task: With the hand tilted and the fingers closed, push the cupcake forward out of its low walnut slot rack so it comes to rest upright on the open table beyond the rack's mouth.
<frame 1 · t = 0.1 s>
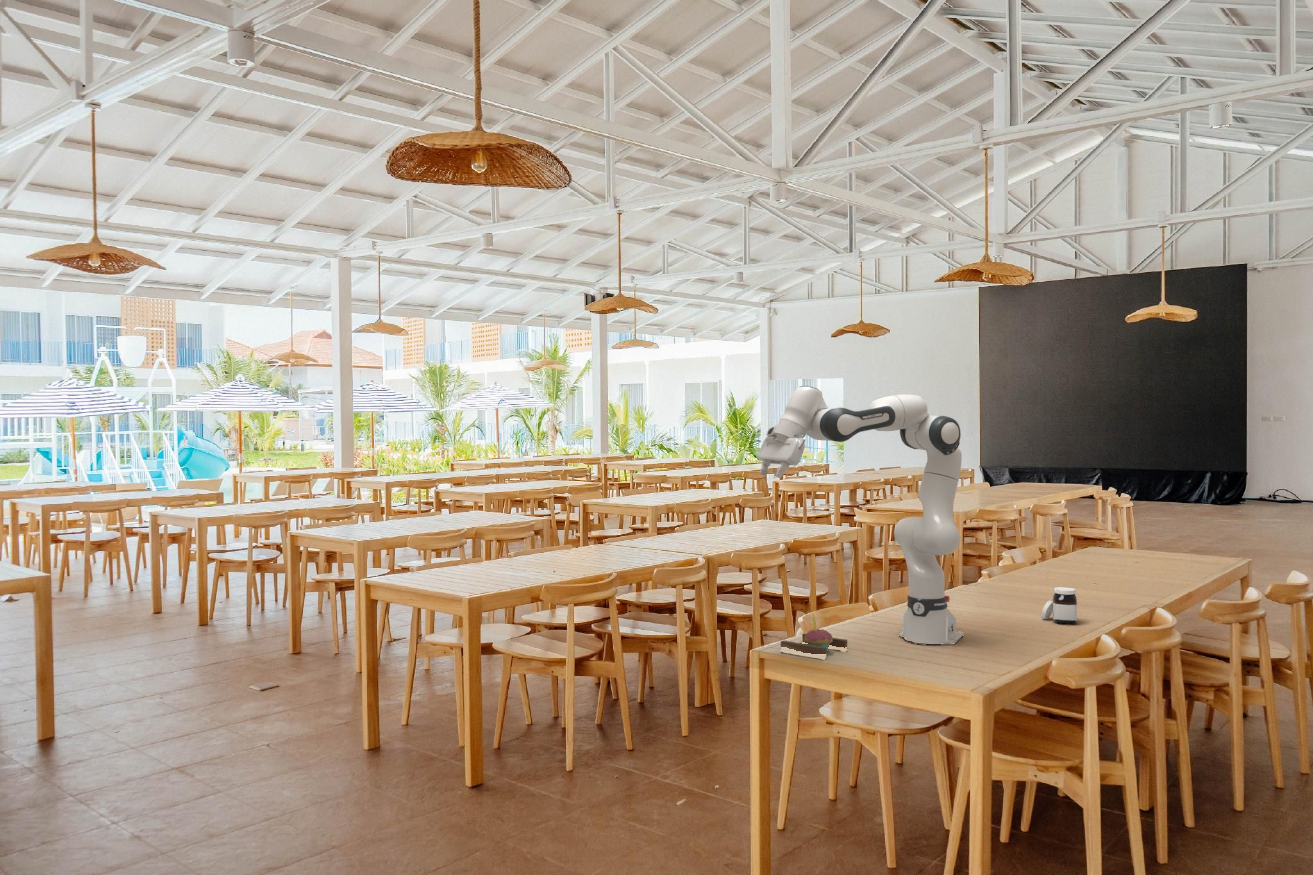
hand: (769, 476, 288), 54 cm above the table, tool tilted 30°, fingers open, 8 cm apart
cupcake: (818, 653, 295), on the table
rack: (814, 651, 296), on the table
spread jar: (1058, 622, 335), on the table
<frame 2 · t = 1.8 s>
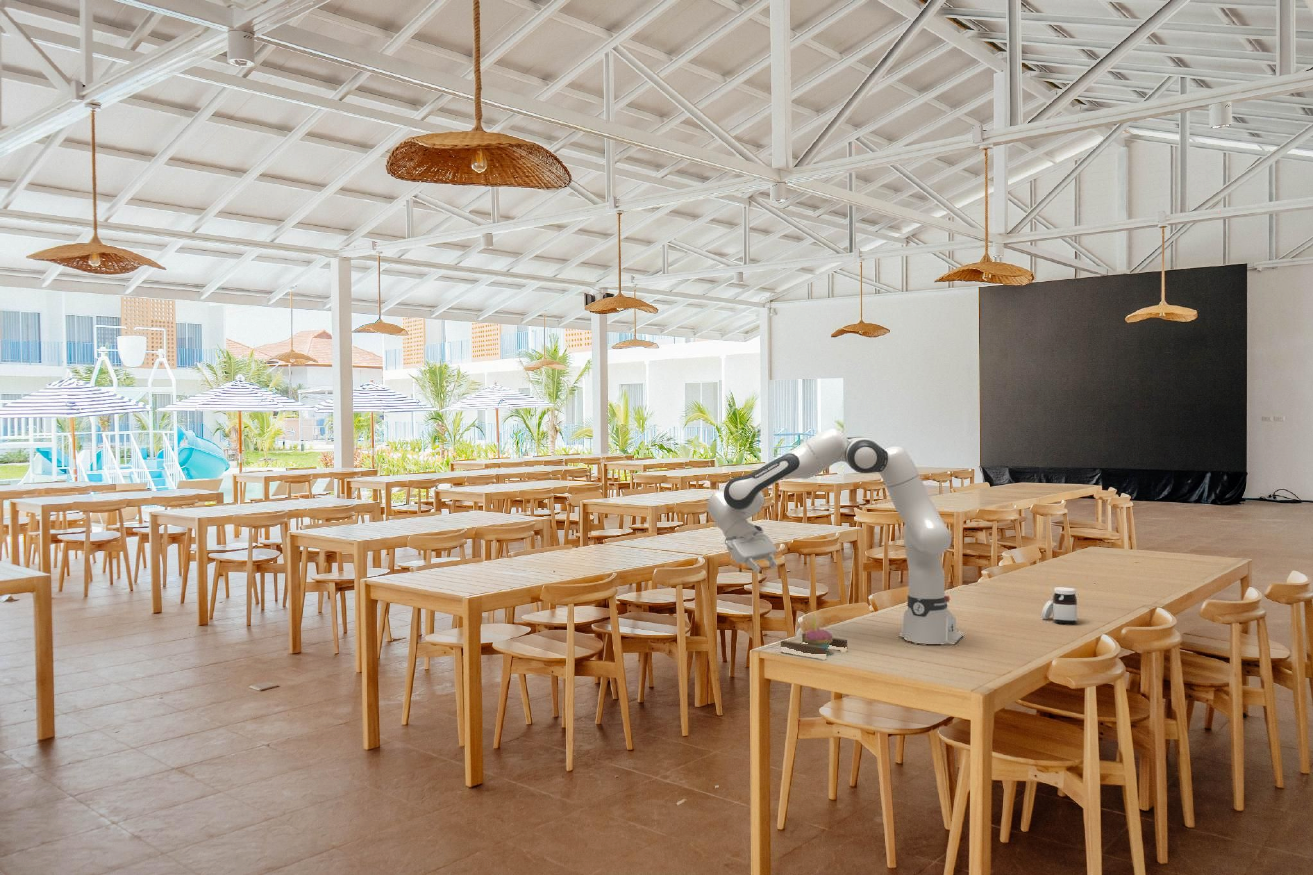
hand: (766, 569, 306), 24 cm above the table, tool tilted 45°, fingers open, 8 cm apart
nothing on the table moved.
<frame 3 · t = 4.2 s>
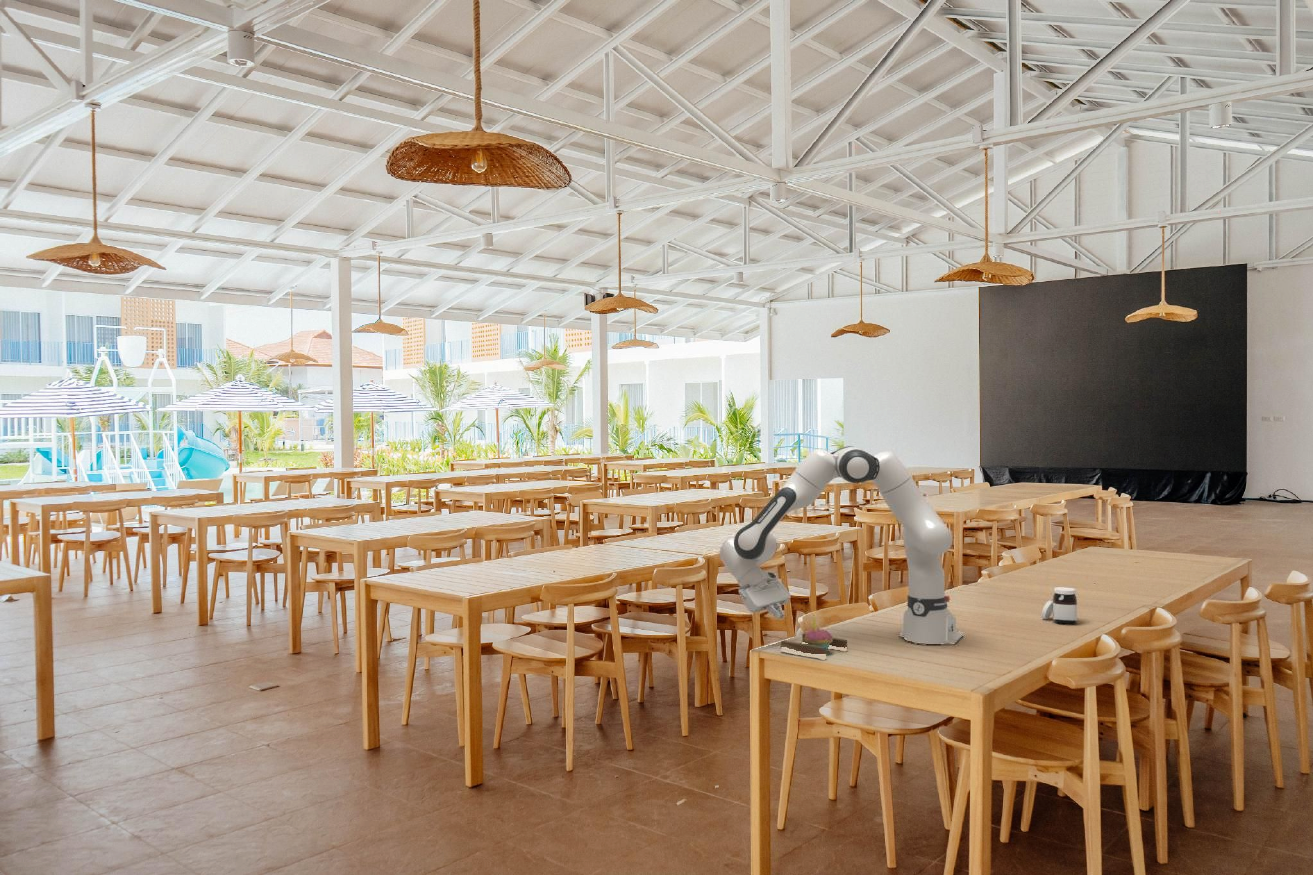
hand: (781, 617, 303), 9 cm above the table, tool tilted 45°, fingers closed
nothing on the table moved.
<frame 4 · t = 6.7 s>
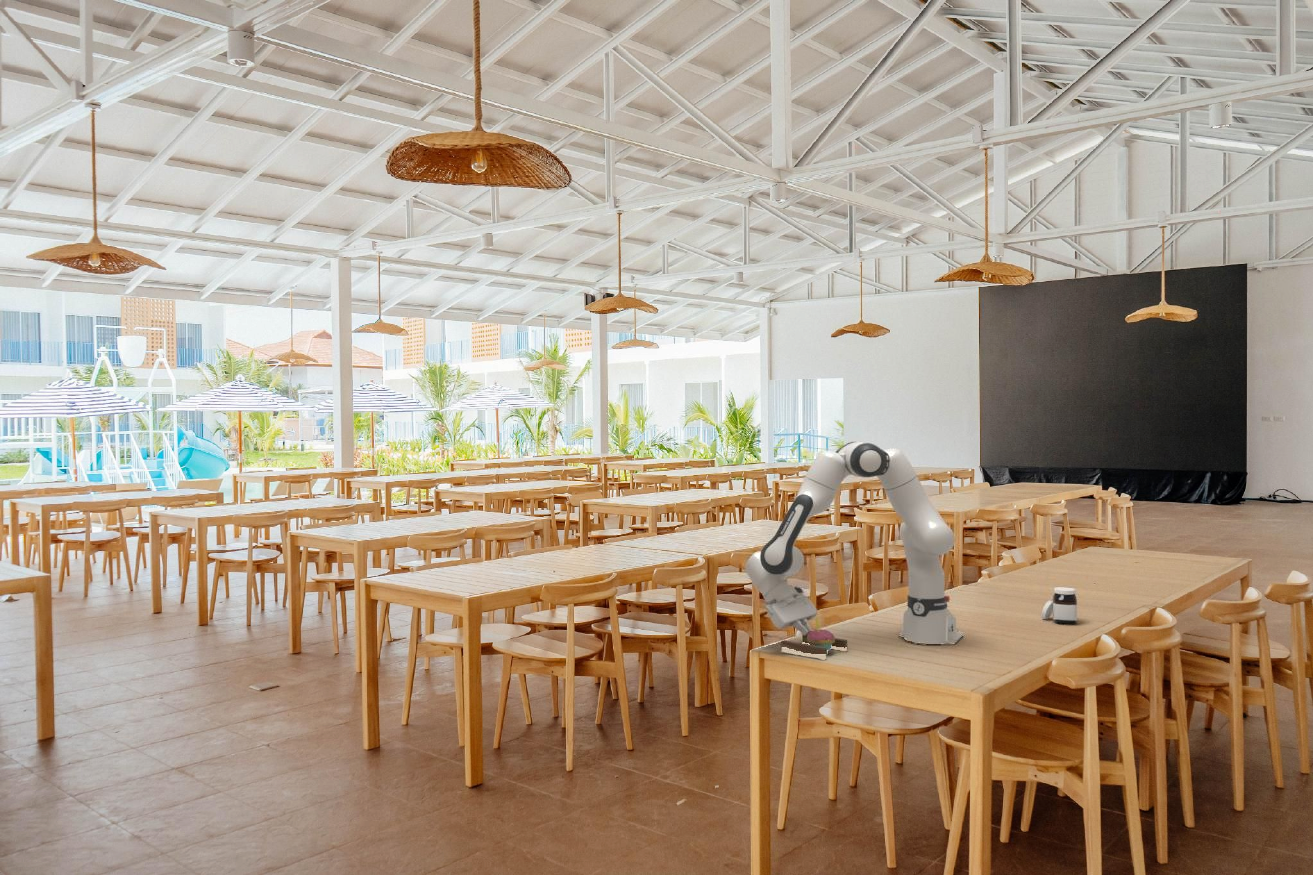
hand: (808, 633, 297), 5 cm above the table, tool tilted 45°, fingers closed, pressing on cupcake
cupcake: (820, 653, 294), on the table, touching gripper
everything else where it was.
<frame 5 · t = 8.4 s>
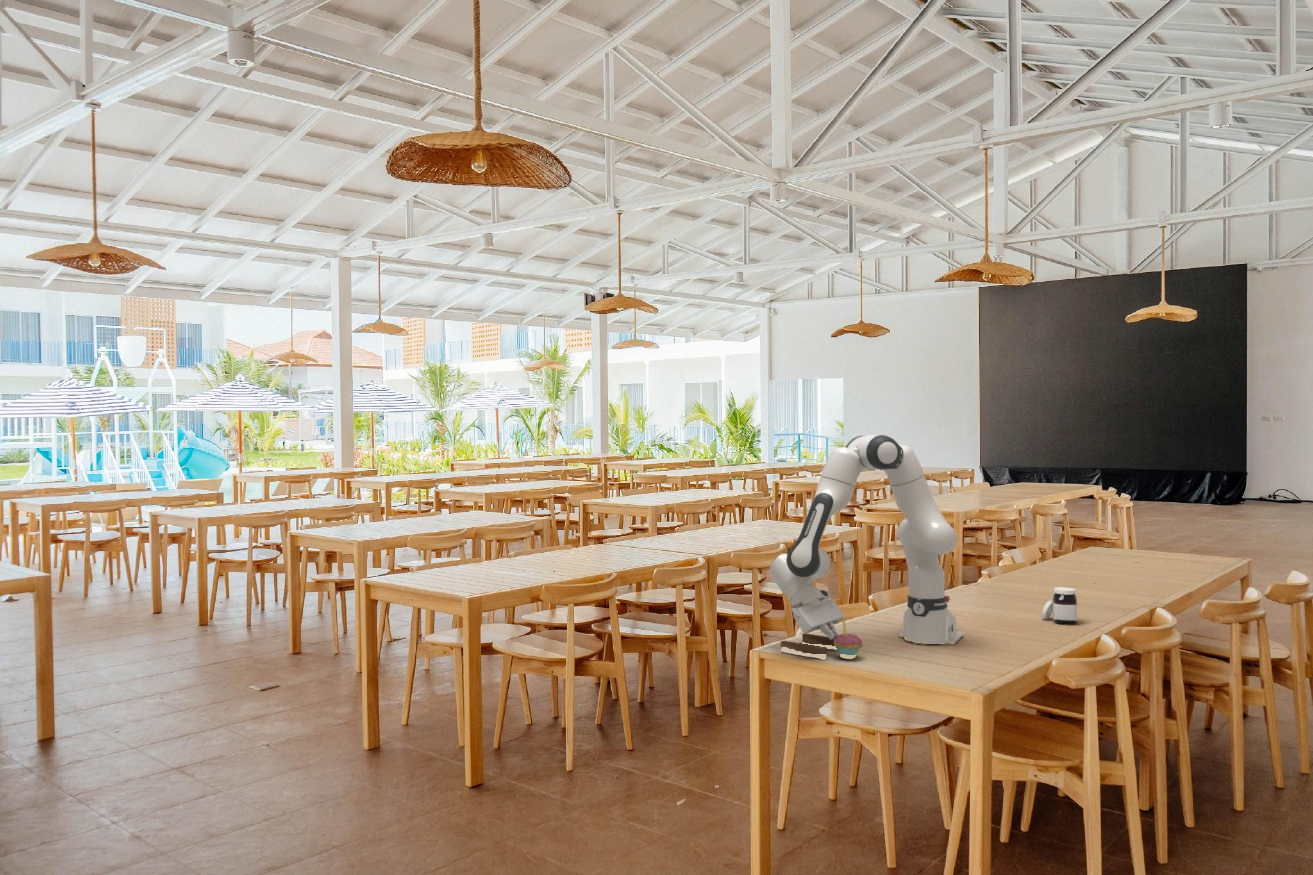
hand: (835, 637, 291), 5 cm above the table, tool tilted 45°, fingers closed, pressing on cupcake
cupcake: (847, 658, 288), on the table, touching gripper
everything else where it was.
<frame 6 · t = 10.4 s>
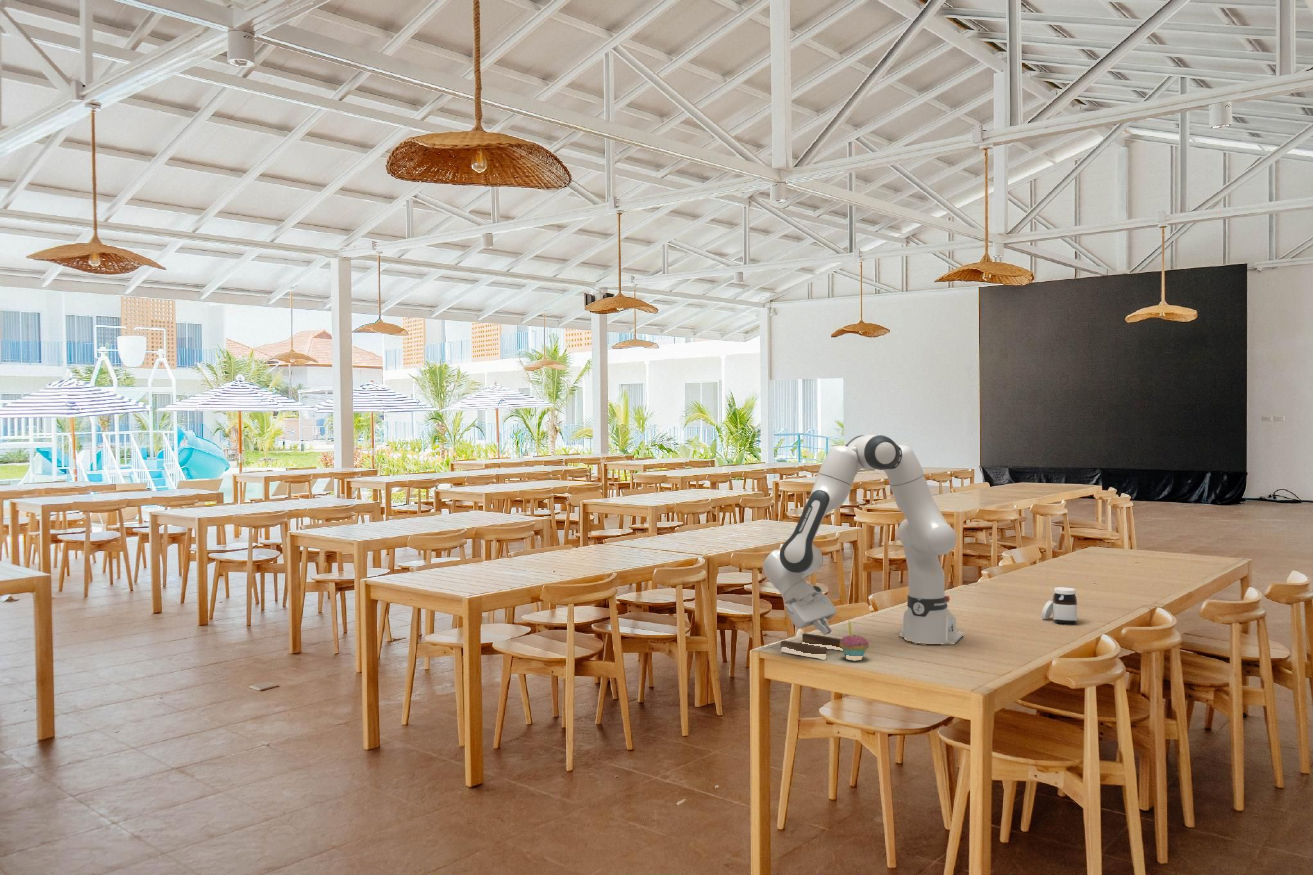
hand: (828, 633, 292), 7 cm above the table, tool tilted 45°, fingers closed
cupcake: (853, 659, 287), on the table
everything else where it was.
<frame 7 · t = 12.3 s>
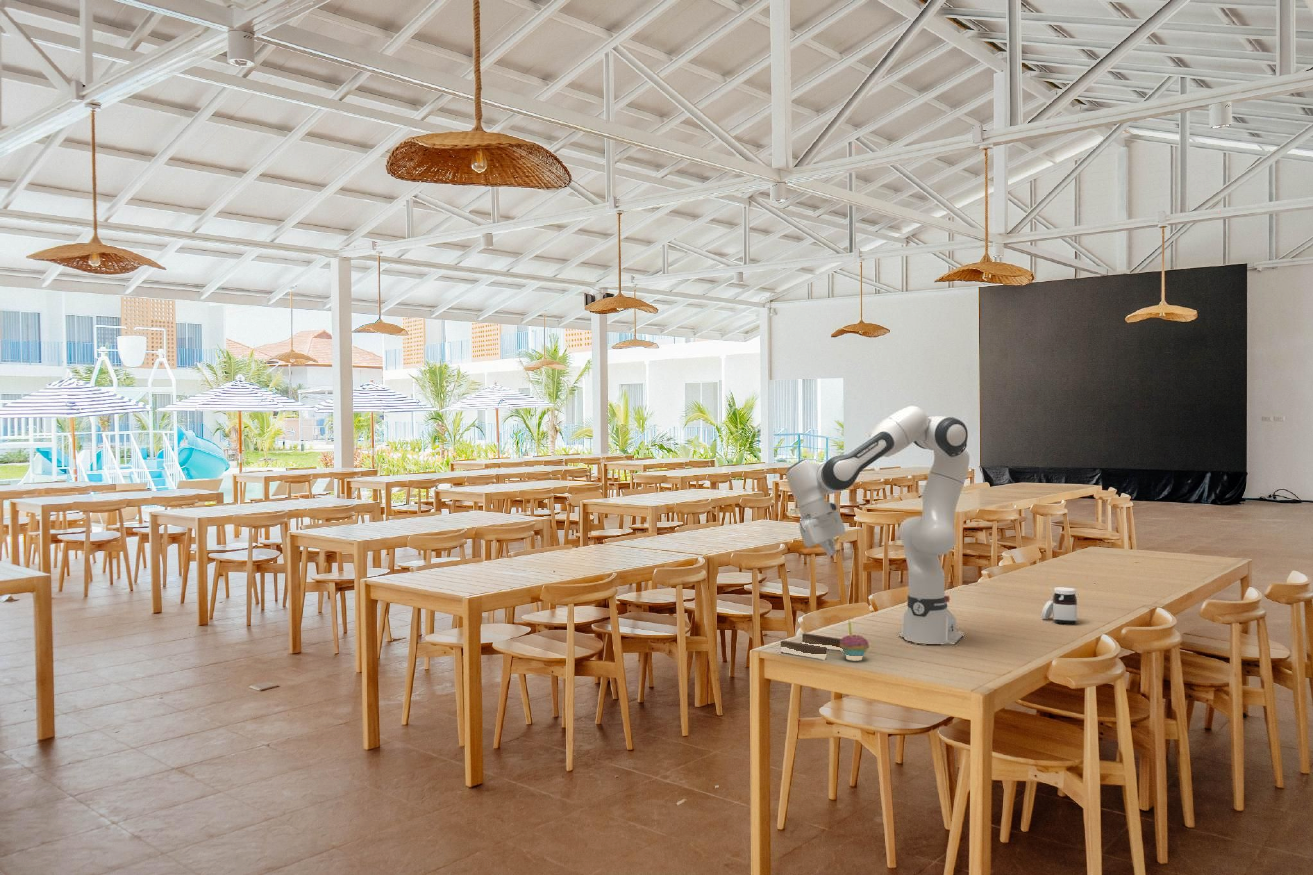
hand: (832, 554, 294), 30 cm above the table, tool tilted 25°, fingers closed
nothing on the table moved.
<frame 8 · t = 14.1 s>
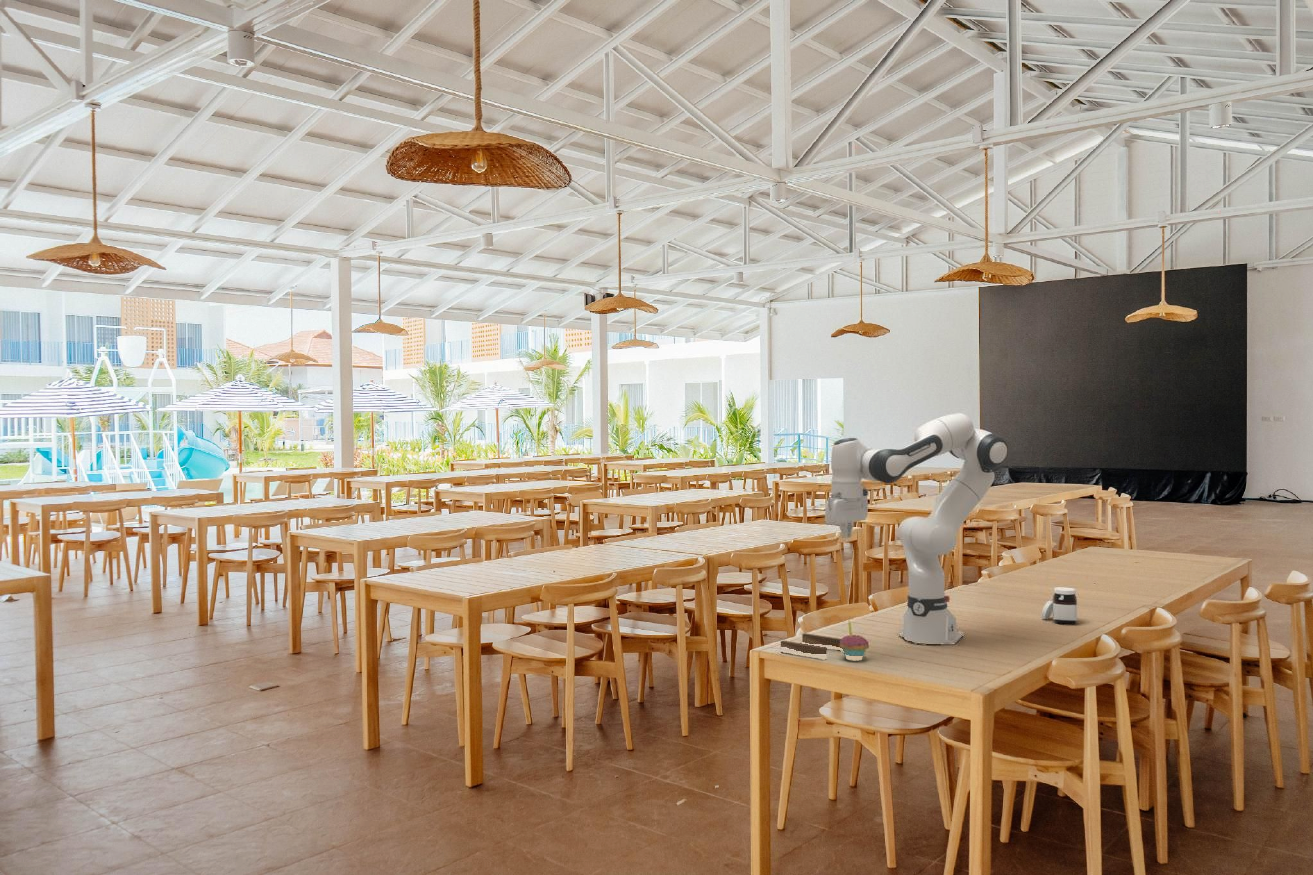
hand: (846, 537, 293), 35 cm above the table, tool pointing down, fingers closed
nothing on the table moved.
at the end: cupcake inside the target area (5.6 cm from its centre), on the table; cupcake tilted 0°; cupcake moved 12.2 cm from its start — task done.
